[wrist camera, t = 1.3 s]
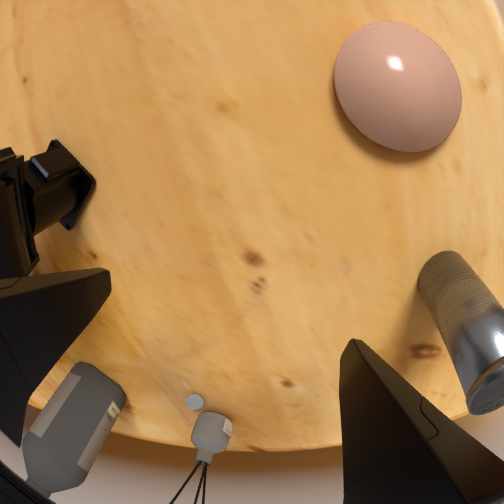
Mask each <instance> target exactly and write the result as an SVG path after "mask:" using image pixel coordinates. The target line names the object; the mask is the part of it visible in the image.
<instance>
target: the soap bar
mask: <svg viewBox="0 0 504 504" xmlns="http://www.w3.org/2000/svg"><path fill="white" fill-rule="evenodd" d="M333 79H334V87H335V92H336V96H337V98H338V101H339V104H340V106H341V108H342V110H343V112H344V113H345V115H346V116H347V118H348V119H349V120H350V122H351V123H352V124H353V125H354V126H355V127H356V128H357V129H358V130H359V131H360V132H361V133H362V134H363V135H365V136H366V137H367V138H369V139H370V140H372V141H374V142H375V143H378V144H380V145H382V146H384V147H387V148H390V149H393V150H396V151H402V152H420V151H424V150H428V149H430V148H433V147H435V146H437V145H438V144H440V143H441V142H442V141H444V140H445V139H446V138H447V137H448V136H449V135H450V134H451V132H452V131H453V129H454V128H455V126H456V124H457V121H458V119H459V116H460V112H461V106H462V92H461V85H460V81H459V77H458V74H457V72H456V69H455V67H454V65H453V63H452V62H451V60H450V58H449V57H448V55H447V54H446V53H445V51H444V50H443V49H442V48H441V47H440V46H439V44H438V43H436V42H435V41H434V40H433V39H432V38H431V37H429V36H428V35H427V34H425V33H424V32H422V31H420V30H418V29H416V28H414V27H412V26H409V25H406V24H403V23H398V22H391V21H382V22H375V23H371V24H368V25H365V26H363V27H361V28H359V29H358V30H356V31H355V32H353V33H352V34H351V35H350V36H349V37H348V38H347V40H346V41H345V42H344V44H343V45H342V47H341V49H340V51H339V53H338V55H337V58H336V61H335V65H334V76H333Z"/></svg>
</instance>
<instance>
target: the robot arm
mask: <svg viewBox="0 0 504 504" xmlns="http://www.w3.org/2000/svg"><path fill="white" fill-rule="evenodd" d="M54 144H55V146H54ZM89 180H90V183H89ZM94 185H95V179H94V177H93V176H92V175H91V174H90V173H89V172H88V171H87V170H86V169H85V168H84V167H83V166H82V165H81V164H80V163H79V161H78V160H77V159H76V158H75V157H74V156H73V155H72V154H71V153H70V152H69V151H68V150H67V149H66V148H65V147H64V146H63V145H62V144H61V143H60V142H59V141H58V140H57V139H55V140H52V141H51V142H50V144H49V146H48V149H47V151H46V152H45V153H41V154H38V155H35V156H32V157H31V158H30V160H28V161H25V162H24V155H17V156H16V155H15V153H14V152H13V150H12V148H11V147H7V148H3V149H0V432H1V433H2V434H3V435H4V436H6V437H7V438H8V439H9V440H10V441H11V442H12V443H14V444H15V445H16V446H17V447H20V446H21V441H22V432H23V425H24V419H25V413H26V407H27V403H28V400H29V398H30V396H31V395H32V393H33V392H34V391H35V389H36V388H37V387H38V385H39V384H40V383H41V382H42V380H43V379H44V378H45V376H46V375H47V374H48V373H49V371H50V370H51V369H52V368H53V366H54V365H55V364H56V363H57V361H58V360H59V359H60V358H61V356H62V355H63V354H64V353H65V351H66V350H67V349H68V348H69V347H70V345H71V344H72V343H73V342H74V341H75V339H76V338H77V337H78V336H79V335H80V334H81V332H82V331H83V330H84V329H85V328H86V327H87V325H88V324H89V323H90V322H91V321H92V319H93V318H94V317H95V315H96V314H97V312H98V311H99V310H100V308H101V307H102V305H103V304H104V302H105V301H106V300H107V298H108V297H109V295H110V293H111V277H110V272H109V271H108V270H106V269H104V268H93V269H84V270H76V271H68V272H60V273H52V274H43V275H35V276H28V275H29V274H30V273H31V271H32V270H33V269H34V267H35V266H36V264H37V263H38V262H39V261H40V259H39V254H38V253H37V250H36V246H35V241H34V236H35V235H37V234H38V233H40V232H42V231H43V230H45V229H46V228H48V227H50V226H51V225H53V224H55V223H56V222H58V221H59V222H60V223H61V224H62V225H63V226H64V227H65V228H66V229H67V230H68V231H70V230H72V229H73V228H74V226H75V224H76V221H77V219H78V217H79V215H80V213H81V211H82V209H83V207H84V204H85V202H86V200H87V198H88V196H89V194H90V193H91V191H92V189H93V187H94ZM339 400H340V414H341V429H342V447H343V476H344V500H343V504H504V461H503V460H501V459H500V458H499V457H497V456H496V455H495V454H493V453H492V452H491V451H490V450H489V449H487V448H486V447H485V446H483V445H482V444H481V443H480V442H478V441H477V440H476V439H475V438H473V437H472V436H471V435H469V434H468V433H467V432H466V431H464V430H463V429H462V428H461V427H459V426H458V425H457V424H456V423H454V422H453V421H452V420H450V419H449V418H448V417H447V416H446V415H444V414H443V413H442V412H441V411H439V410H438V409H437V408H436V407H435V406H434V405H433V404H432V403H430V402H429V401H428V400H427V399H426V398H425V397H424V396H422V395H421V394H420V393H419V392H418V391H417V390H416V389H415V388H414V387H412V386H411V385H410V384H409V383H408V382H407V381H406V380H405V379H404V378H403V377H402V376H400V375H399V374H398V373H397V372H396V371H395V370H394V369H393V368H392V367H391V366H390V365H388V364H387V363H386V362H385V361H384V360H383V359H382V358H381V357H380V356H379V355H378V354H376V353H375V352H374V351H373V350H372V349H371V348H370V347H369V346H368V345H367V344H365V343H364V342H363V341H362V340H359V339H354V338H352V339H351V340H350V341H349V342H348V344H347V346H346V348H345V349H344V351H343V353H342V355H341V359H340V379H339ZM0 504H56V503H55V502H53V501H51V500H50V499H49V498H47V497H46V496H44V495H43V494H41V493H40V492H39V491H37V490H36V489H35V488H33V487H32V486H31V485H29V484H28V483H27V482H25V481H24V480H23V479H22V478H20V477H19V476H18V475H17V474H15V473H14V472H13V471H12V470H11V469H9V468H8V467H7V466H6V465H5V464H4V463H3V462H2V461H1V460H0Z"/></svg>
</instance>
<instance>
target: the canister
mask: <svg viewBox="0 0 504 504" xmlns="http://www.w3.org/2000/svg"><path fill="white" fill-rule="evenodd" d="M418 288H419V291H420V293H421V295H422V297H423V299H424V301H425V303H426V305H427V307H428V309H429V311H430V313H431V315H432V317H433V319H434V321H435V323H436V326H437V328H438V330H439V332H440V334H441V336H442V339H443V341H444V343H445V345H446V348H447V350H448V352H449V355H450V357H451V360H452V362H453V364H454V367H455V369H456V372H457V375H458V377H459V380H460V383H461V385H462V388H463V391H464V394H465V396H466V404H467V408H468V411H469V412H470V413H471V414H473V415H483V414H486V413H489V412H492V411H494V410H496V409H498V408H500V407H501V406H503V405H504V309H503V307H502V306H501V305H500V303H499V302H498V301H497V299H496V298H495V297H494V295H493V294H492V293H491V291H490V290H489V289H488V287H487V286H486V285H485V284H484V282H483V281H482V280H481V279H480V277H479V276H478V275H477V274H476V273H475V271H474V270H473V269H472V268H471V267H470V266H469V264H468V263H467V262H466V261H465V260H464V259H463V257H462V256H461V255H460V254H458V253H456V252H454V251H443V252H440V253H438V254H436V255H434V256H433V257H432V258H430V259H429V260H428V261H427V262H426V263H425V265H424V266H423V268H422V270H421V272H420V274H419V278H418Z"/></svg>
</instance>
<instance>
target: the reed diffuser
mask: <svg viewBox="0 0 504 504" xmlns="http://www.w3.org/2000/svg"><path fill="white" fill-rule="evenodd" d="M186 405H187V407H188V408H189V409H191V410H193V411H199V410H201V409H202V408H203V406H204V399H203V398H202V397H201V396H200V395H198V394H191V395H189V396H188V397H187V399H186ZM232 428H233V424H232V422H231V420H230V419H228V418H227V417H225V416H223V415H221V414H218V413H214V412H203V413H201V414H199V416H198V419H197V421H196V423H195V426H194V428H193V431H192V434H191V441H192V443H193V444H194V445H195V447H196V448H197V449H198V452H197V456H196V459H195V462H196V463H198V464H197V465H196V467H195V468H194V470H193V471H192V473H191V474H190V475H189V477H188V478H187V480H186V481H185V483H184V484H183V486H182V487H181V489H180V490H179V491H178V493H177V494H176V496H175V497H174V498H173V500H172V501H171V502H170V504H173V503H174V501H175V500H176V498H177V497H178V496H179V494H180V493H181V491H182V490H183V488H184V487H185V485H186V484H187V483H188V481H189V480H190V478H191V477H192V476H193V474H194V473H195V471H196V470H197V468H198V467H199V465H203V466H204V468H203V472H202V476H201V479H200V483H199V486H198V490H197V494H196V498H195V501H194V504H196V502H197V499H198V495H199V491H200V488H201V484H202V481H203V477H204V482H203V497H202V504H204V500H205V485H206V471H207V466H209V465H210V463H211V460H212V457H213V454H216V453H219V452H222V451H224V450H225V449H226V448H227V446H228V443H229V439H230V437H231V433H232Z"/></svg>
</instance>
